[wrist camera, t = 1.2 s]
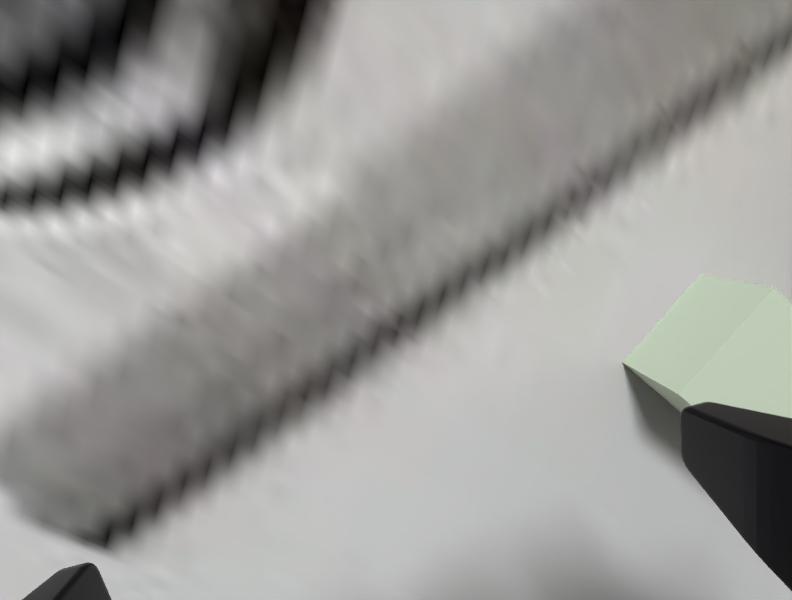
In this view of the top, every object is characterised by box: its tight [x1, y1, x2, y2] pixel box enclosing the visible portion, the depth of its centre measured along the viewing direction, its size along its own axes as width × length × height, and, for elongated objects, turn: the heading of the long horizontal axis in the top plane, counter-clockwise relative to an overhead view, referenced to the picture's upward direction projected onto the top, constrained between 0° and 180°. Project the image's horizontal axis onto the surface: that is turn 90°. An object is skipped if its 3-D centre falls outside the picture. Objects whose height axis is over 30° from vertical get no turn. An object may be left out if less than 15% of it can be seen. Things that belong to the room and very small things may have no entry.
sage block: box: [623, 273, 792, 418], centre depth 21 cm, size 5×5×4 cm
